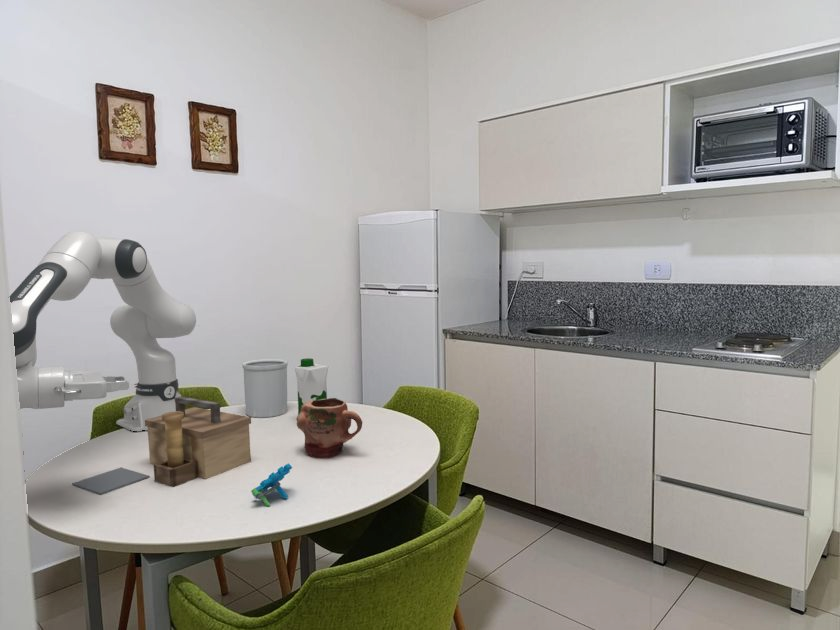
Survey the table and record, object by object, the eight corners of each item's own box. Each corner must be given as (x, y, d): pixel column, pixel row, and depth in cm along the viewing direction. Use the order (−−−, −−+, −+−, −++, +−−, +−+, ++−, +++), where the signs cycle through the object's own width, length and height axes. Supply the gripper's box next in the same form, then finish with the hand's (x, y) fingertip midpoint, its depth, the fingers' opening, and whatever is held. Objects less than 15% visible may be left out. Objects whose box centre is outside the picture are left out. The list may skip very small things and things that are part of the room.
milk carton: (315, 416, 194) (313, 356, 192) (333, 420, 188) (331, 359, 186) (293, 422, 187) (291, 360, 185) (311, 427, 181) (309, 363, 179)
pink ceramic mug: (373, 448, 159) (372, 398, 158) (354, 464, 148) (353, 410, 146) (308, 443, 166) (306, 394, 164) (285, 457, 154) (283, 405, 153)
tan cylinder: (161, 480, 139) (157, 415, 138) (179, 474, 143) (175, 410, 142) (174, 484, 137) (170, 417, 135) (191, 477, 141) (188, 412, 139)
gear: (277, 477, 135) (295, 454, 130) (292, 498, 134) (311, 475, 128) (239, 501, 126) (257, 477, 121) (256, 523, 125) (275, 500, 119)
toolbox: (123, 471, 146) (118, 407, 144) (196, 447, 164) (193, 390, 162) (180, 489, 133) (176, 419, 132) (253, 461, 152) (250, 399, 150)
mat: (72, 484, 138) (72, 483, 138) (121, 468, 148) (121, 467, 148) (100, 494, 131) (100, 493, 131) (149, 477, 141) (149, 475, 141)
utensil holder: (276, 404, 210) (274, 356, 209) (297, 412, 199) (295, 361, 198) (237, 412, 201) (235, 362, 199) (257, 421, 190) (254, 367, 188)
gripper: (54, 377, 117) (131, 373, 124) (54, 367, 134) (121, 364, 141) (55, 409, 117) (131, 403, 124) (54, 395, 134) (122, 390, 142)
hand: (126, 382), depth 133 cm, fingers open, 8 cm apart
